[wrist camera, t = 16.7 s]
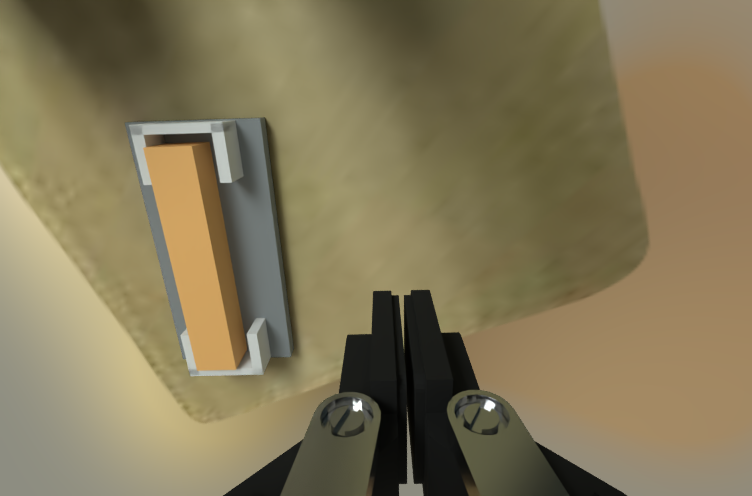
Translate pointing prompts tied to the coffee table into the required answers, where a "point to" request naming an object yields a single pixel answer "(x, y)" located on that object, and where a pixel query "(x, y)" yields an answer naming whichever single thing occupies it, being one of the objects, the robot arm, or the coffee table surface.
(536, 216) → the coffee table surface
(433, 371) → the robot arm
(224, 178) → the cap board
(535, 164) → the coffee table surface
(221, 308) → the slat
